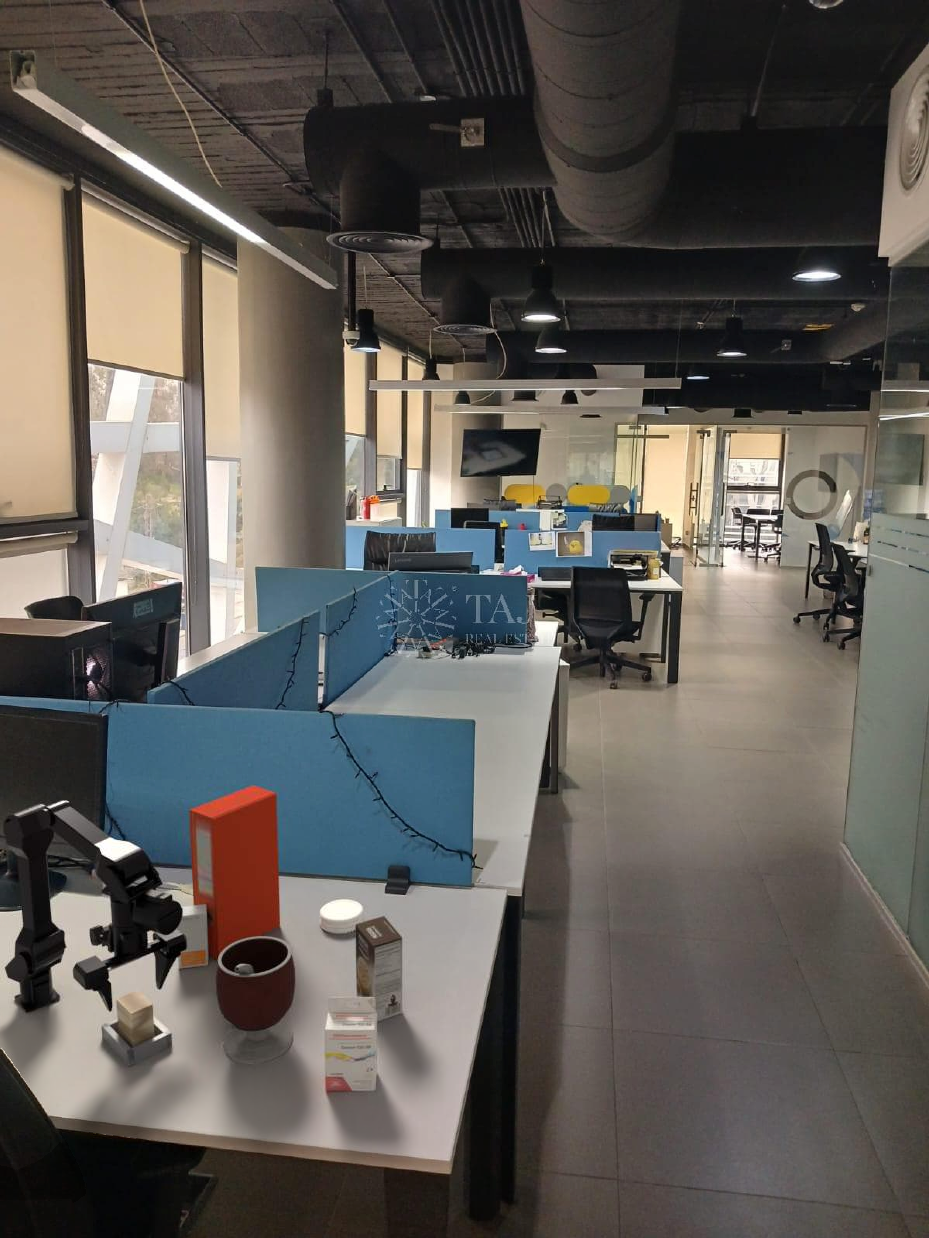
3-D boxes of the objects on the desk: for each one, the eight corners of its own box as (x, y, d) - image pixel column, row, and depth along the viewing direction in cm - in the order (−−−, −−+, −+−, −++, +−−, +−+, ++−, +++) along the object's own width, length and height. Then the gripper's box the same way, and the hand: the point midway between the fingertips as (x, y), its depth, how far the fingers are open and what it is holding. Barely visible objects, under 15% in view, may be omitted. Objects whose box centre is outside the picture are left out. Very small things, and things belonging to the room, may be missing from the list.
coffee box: (355, 997, 172) (353, 922, 169) (384, 988, 175) (383, 914, 172) (373, 1023, 164) (372, 945, 161) (404, 1013, 167) (403, 936, 164)
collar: (102, 1037, 160) (101, 1025, 159) (144, 1018, 165) (143, 1006, 165) (129, 1066, 152) (128, 1053, 152) (172, 1044, 158) (171, 1032, 157)
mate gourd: (235, 1014, 167) (231, 917, 163) (306, 1019, 165) (303, 922, 162) (202, 1069, 152) (197, 964, 148) (280, 1076, 150) (276, 970, 146)
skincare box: (178, 970, 181) (175, 916, 179) (179, 958, 185) (176, 906, 183) (209, 965, 183) (206, 912, 181) (209, 954, 187) (206, 903, 185)
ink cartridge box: (324, 1092, 146) (322, 1013, 144) (328, 1072, 151) (326, 995, 148) (376, 1091, 147) (375, 1012, 144) (378, 1071, 151) (377, 994, 149)
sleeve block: (133, 1054, 155) (130, 1013, 154) (119, 1038, 160) (116, 999, 158) (155, 1043, 158) (152, 1003, 157) (140, 1028, 162) (137, 989, 161)
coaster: (348, 939, 194) (347, 924, 193) (311, 928, 198) (310, 914, 197) (372, 918, 203) (371, 904, 202) (336, 908, 207) (335, 894, 206)
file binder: (281, 926, 198) (276, 792, 193) (220, 960, 185) (213, 818, 179) (256, 915, 203) (251, 784, 197) (195, 948, 189) (188, 809, 183)
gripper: (157, 886, 167) (162, 960, 169) (57, 922, 154) (64, 1002, 156) (186, 906, 159) (190, 984, 162) (83, 946, 146) (89, 1030, 149)
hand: (134, 999), depth 157 cm, fingers open, 9 cm apart
